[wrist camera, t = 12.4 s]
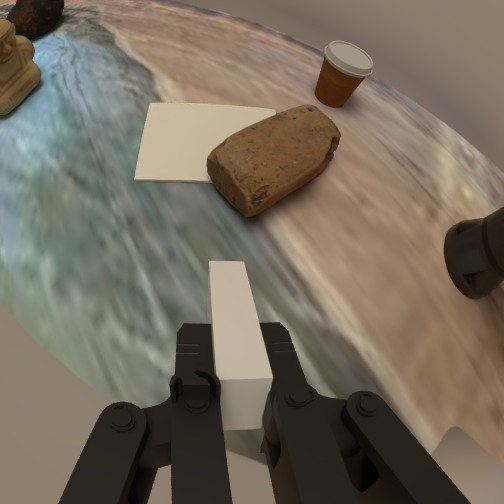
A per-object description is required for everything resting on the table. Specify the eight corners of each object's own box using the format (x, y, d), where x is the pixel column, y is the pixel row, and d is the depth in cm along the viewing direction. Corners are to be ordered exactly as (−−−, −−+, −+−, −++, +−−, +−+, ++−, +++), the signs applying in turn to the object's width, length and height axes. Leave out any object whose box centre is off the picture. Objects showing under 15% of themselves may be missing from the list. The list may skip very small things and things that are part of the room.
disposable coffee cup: (297, 87, 55) (316, 42, 44) (328, 78, 58) (348, 37, 47) (330, 119, 54) (355, 74, 43) (359, 106, 57) (384, 66, 46)
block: (203, 141, 37) (310, 95, 44) (200, 174, 44) (296, 125, 51) (256, 203, 36) (358, 142, 43) (245, 230, 43) (339, 169, 50)
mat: (274, 111, 52) (275, 109, 51) (281, 187, 47) (282, 185, 46) (150, 105, 48) (150, 102, 47) (134, 181, 43) (134, 179, 42)
